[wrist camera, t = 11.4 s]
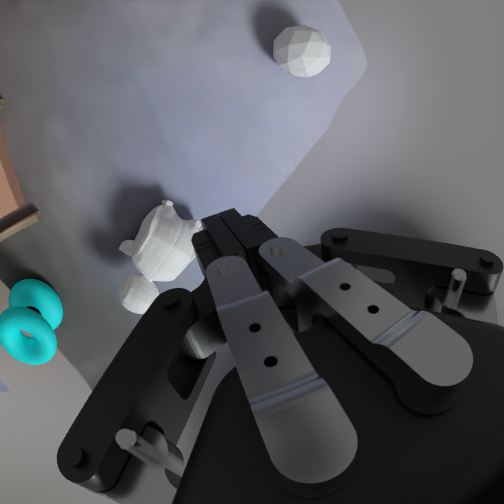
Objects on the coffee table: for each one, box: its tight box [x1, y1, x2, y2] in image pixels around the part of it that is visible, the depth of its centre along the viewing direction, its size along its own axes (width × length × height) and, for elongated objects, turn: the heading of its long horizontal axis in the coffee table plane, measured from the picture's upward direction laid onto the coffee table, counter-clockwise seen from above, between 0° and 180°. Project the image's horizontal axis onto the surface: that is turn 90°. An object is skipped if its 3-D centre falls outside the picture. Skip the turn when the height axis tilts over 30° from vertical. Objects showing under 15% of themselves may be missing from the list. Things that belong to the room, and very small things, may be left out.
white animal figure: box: [118, 200, 202, 314], centre depth 37 cm, size 9×8×15 cm
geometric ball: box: [273, 25, 331, 77], centre depth 31 cm, size 8×8×8 cm
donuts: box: [0, 279, 63, 365], centre depth 32 cm, size 10×10×10 cm
